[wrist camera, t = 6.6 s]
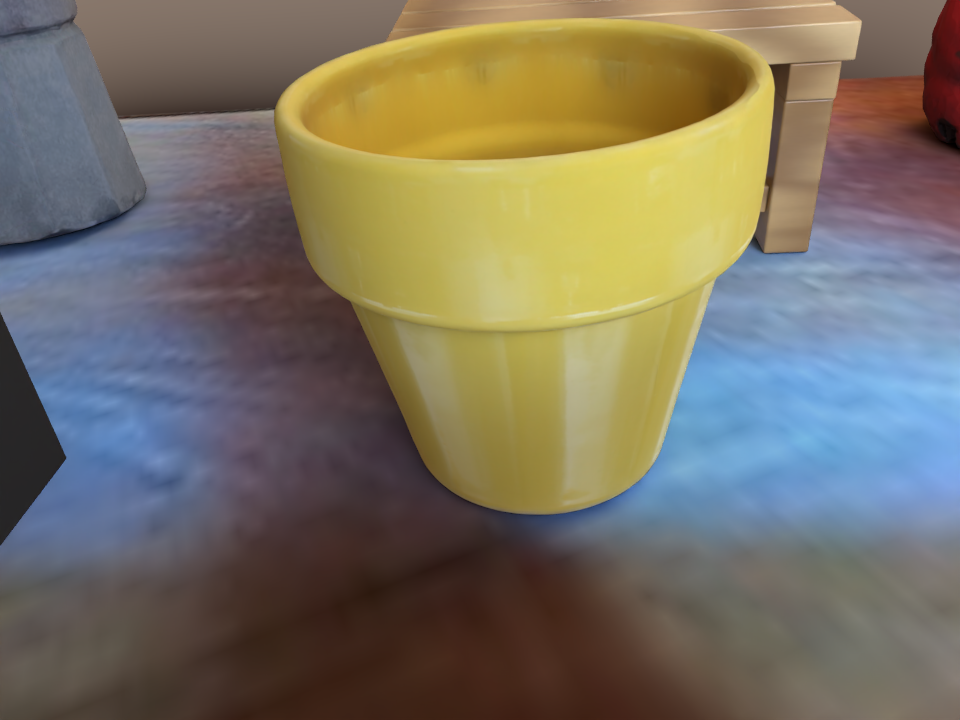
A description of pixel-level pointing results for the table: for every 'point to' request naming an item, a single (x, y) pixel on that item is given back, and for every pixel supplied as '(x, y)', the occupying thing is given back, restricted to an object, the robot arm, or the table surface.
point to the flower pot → (531, 234)
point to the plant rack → (751, 20)
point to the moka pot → (57, 128)
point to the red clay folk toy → (944, 76)
